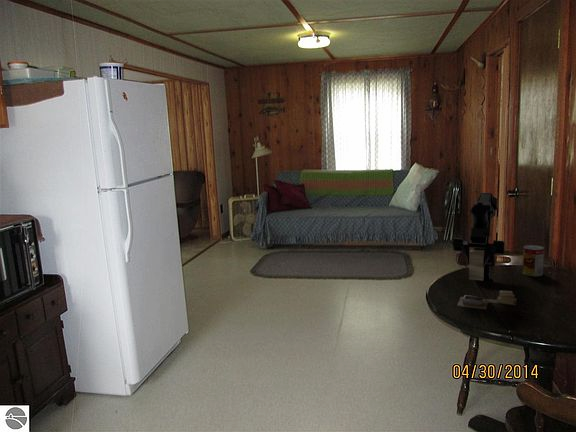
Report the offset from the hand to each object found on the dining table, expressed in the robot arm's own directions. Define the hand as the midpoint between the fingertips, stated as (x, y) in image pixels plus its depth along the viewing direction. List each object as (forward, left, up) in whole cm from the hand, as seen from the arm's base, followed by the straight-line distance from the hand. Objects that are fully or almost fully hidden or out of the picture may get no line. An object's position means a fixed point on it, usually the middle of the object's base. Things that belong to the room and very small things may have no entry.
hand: (476, 264), depth 178 cm
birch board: (-1, +1, -6) cm, 6 cm away
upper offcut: (+5, +9, -11) cm, 16 cm away
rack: (+6, +2, -14) cm, 15 cm away
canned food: (-28, +34, -14) cm, 46 cm away
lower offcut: (+5, +9, -13) cm, 17 cm away
